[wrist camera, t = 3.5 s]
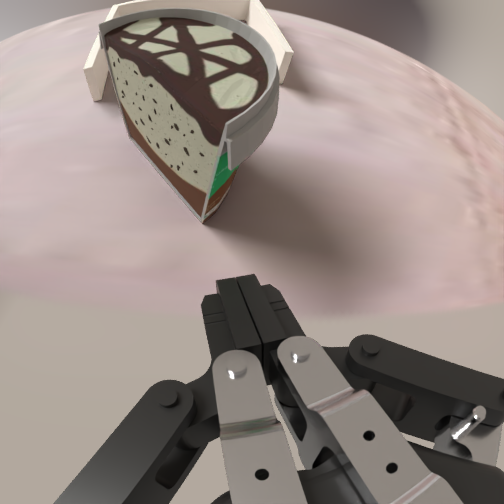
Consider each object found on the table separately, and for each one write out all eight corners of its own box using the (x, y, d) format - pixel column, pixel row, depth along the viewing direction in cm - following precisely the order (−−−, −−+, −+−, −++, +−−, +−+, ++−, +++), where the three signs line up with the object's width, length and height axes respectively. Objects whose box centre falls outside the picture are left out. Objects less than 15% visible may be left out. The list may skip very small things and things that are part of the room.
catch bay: (93, 101, 19) (83, 69, 15) (116, 28, 23) (113, 5, 19) (282, 83, 23) (293, 52, 19) (249, 18, 27) (255, -5, 23)
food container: (285, 189, 19) (347, 83, 10) (217, 241, 17) (238, 134, 8) (183, 93, 20) (186, -8, 11) (120, 127, 18) (95, 22, 9)
